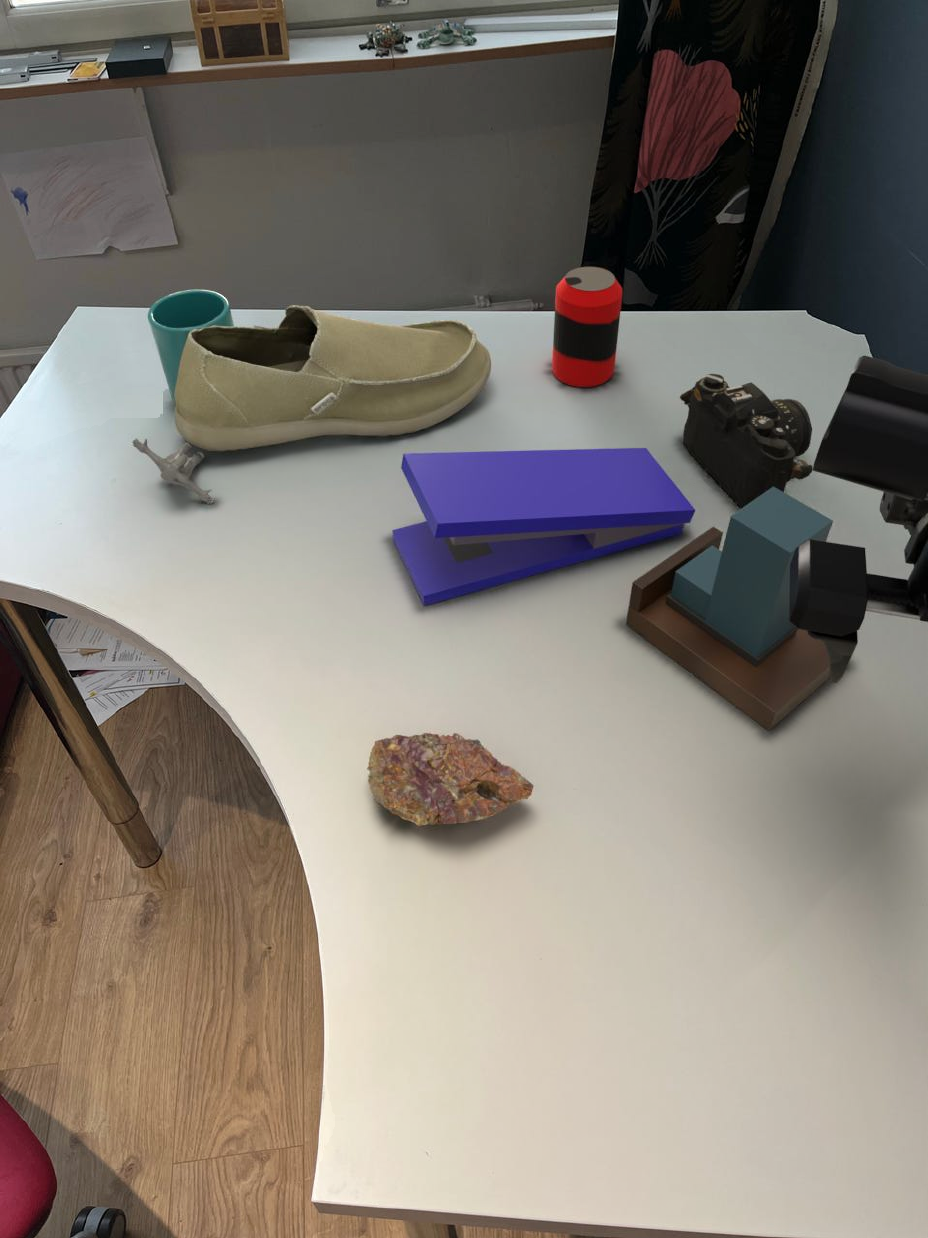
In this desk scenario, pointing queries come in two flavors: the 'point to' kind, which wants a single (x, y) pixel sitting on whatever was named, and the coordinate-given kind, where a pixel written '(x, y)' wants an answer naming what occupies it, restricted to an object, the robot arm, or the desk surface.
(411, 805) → the mineral specimen
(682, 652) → the brown lipped tray
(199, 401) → the loafer
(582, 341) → the soda can
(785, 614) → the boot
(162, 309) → the cup
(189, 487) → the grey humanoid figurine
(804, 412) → the film camera
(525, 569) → the stapler
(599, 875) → the desk surface
